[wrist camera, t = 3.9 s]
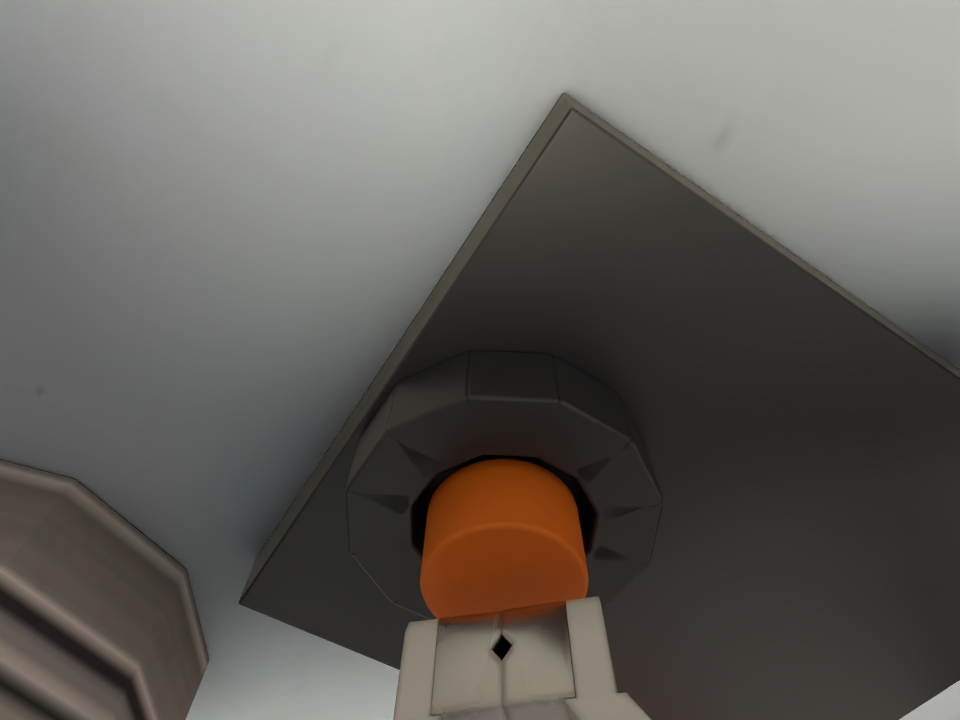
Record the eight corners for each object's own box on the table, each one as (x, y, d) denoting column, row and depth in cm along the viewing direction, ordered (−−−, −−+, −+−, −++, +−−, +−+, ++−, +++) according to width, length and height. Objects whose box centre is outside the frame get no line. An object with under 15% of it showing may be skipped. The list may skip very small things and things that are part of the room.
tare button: (400, 532, 13) (389, 605, 12) (479, 430, 12) (478, 498, 11) (521, 589, 14) (526, 665, 12) (607, 499, 13) (624, 571, 11)
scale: (254, 559, 17) (214, 665, 15) (563, 91, 12) (584, 127, 9) (737, 767, 21) (772, 878, 19) (1132, 491, 16) (1258, 594, 13)
